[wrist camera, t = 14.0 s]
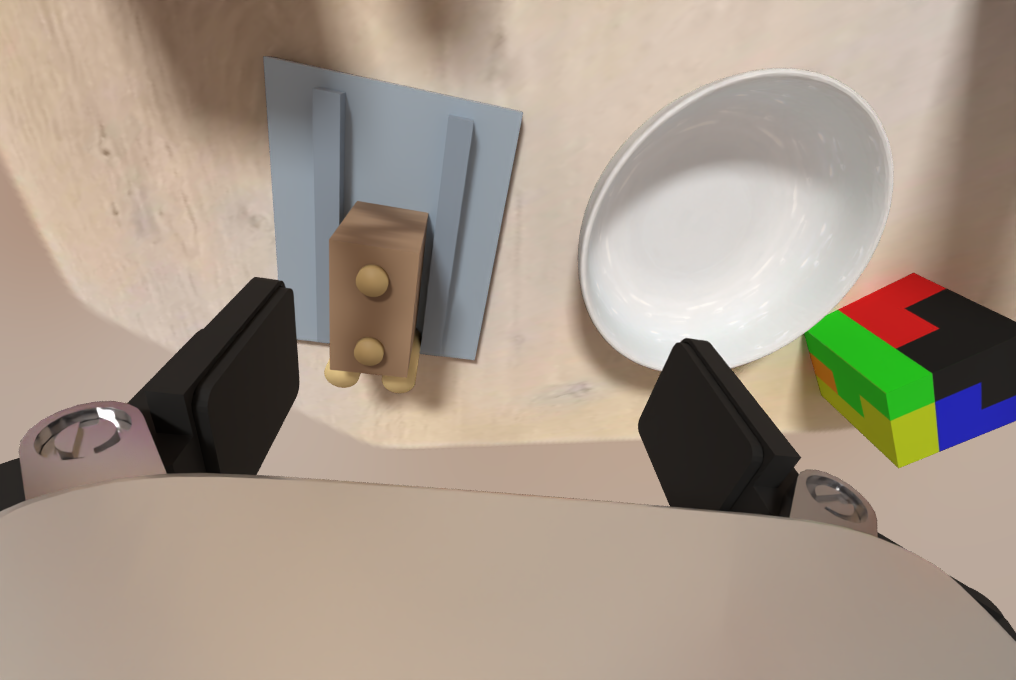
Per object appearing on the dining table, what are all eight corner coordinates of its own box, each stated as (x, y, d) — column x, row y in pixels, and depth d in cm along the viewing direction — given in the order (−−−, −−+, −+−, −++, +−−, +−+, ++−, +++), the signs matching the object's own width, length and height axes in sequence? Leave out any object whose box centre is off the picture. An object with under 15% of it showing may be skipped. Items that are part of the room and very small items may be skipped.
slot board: (521, 111, 31) (535, 124, 25) (474, 353, 41) (476, 404, 35) (269, 56, 28) (217, 56, 22) (286, 331, 38) (253, 382, 32)
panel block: (428, 212, 33) (418, 257, 26) (417, 319, 37) (406, 383, 30) (357, 200, 32) (326, 243, 25) (354, 311, 37) (327, 375, 29)
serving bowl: (533, 314, 39) (545, 359, 34) (611, 30, 29) (648, 24, 23) (744, 346, 43) (787, 391, 37) (881, 104, 33) (972, 115, 27)
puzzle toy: (920, 349, 45) (1025, 416, 37) (821, 395, 47) (898, 468, 39) (912, 272, 40) (1031, 329, 32) (801, 326, 43) (885, 393, 34)
